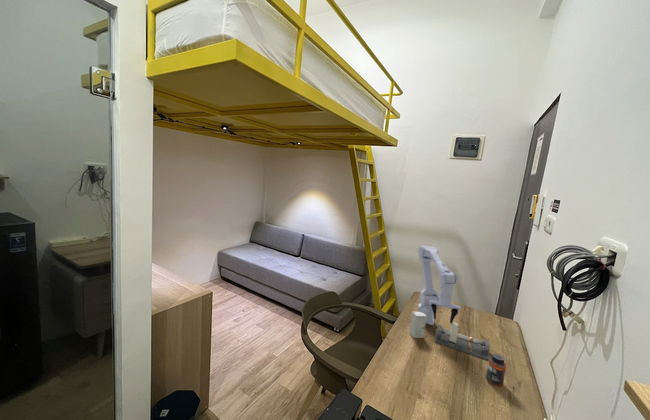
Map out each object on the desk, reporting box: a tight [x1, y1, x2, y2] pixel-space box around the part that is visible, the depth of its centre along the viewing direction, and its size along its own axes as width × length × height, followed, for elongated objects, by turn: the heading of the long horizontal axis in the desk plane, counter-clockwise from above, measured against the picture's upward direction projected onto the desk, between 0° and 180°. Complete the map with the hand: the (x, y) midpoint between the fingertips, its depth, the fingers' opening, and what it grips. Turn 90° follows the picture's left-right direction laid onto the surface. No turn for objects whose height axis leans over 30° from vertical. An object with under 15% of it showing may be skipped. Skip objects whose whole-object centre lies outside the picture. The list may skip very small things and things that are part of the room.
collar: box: [449, 321, 459, 343], centre depth 124 cm, size 3×5×8 cm, turn 154°
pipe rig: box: [434, 324, 492, 361], centre depth 123 cm, size 24×12×6 cm, turn 64°
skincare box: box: [409, 311, 427, 339], centre depth 127 cm, size 6×4×12 cm
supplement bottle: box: [485, 352, 507, 387], centre depth 100 cm, size 6×6×11 cm
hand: (442, 320), depth 126 cm, fingers open, 7 cm apart
